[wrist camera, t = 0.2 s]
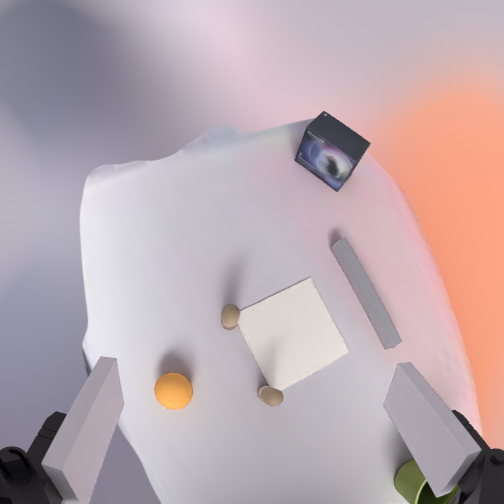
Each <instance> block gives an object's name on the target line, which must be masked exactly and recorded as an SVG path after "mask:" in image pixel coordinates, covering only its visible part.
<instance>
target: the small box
mask: <svg viewBox="0 0 504 504" xmlns="http://www.w3.org/2000/svg"><path fill="white" fill-rule="evenodd" d="M370 144H371V143H370V142H368V141H367V140H365V139H364V138H362V137H361V136H360V135H358V134H357V133H356V132H354V131H353V130H351V129H350V128H349V127H347V126H346V125H344V124H343V123H341V122H340V121H339V120H337V119H336V118H334V117H332V116H331V115H330V114H328V113H327V112H325V111H323V112H322V113H321V114H320V115H319V116H318V117H317V118H315V119H314V120H313V121H312V122H311V123H310V124H309V125H308V126H307V127H306V130H305V133H304V136H303V139H302V142H301V144H300V147H299V150H298V153H297V155H296V158H295V161H296V162H298V163H299V164H300V165H302V166H303V167H305V168H306V169H307V170H309V171H310V172H311V173H313V174H314V175H315V176H317V177H318V178H319V179H321V180H322V181H323V182H325V183H326V184H327V185H329V186H330V187H331V188H333V189H334V190H335V191H336V192H338V190H339V189H340V188H341V187H342V186H343V184H344V183H345V182H346V181H347V179H348V178H349V177H350V176H351V174H352V172H353V170H354V169H355V167H356V166H357V164H358V162H359V161H360V159H361V158H362V156H363V155H364V153H365V151H366V150H367V148H368V147H369V146H370Z"/></svg>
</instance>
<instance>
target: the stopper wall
mask: <svg viewBox="0 0 504 504" xmlns="http://www.w3.org/2000/svg"><path fill="white" fill-rule="evenodd" d="M330 249H331V251H332V252H333V254H334V256H335V257H336V259H337V261H338V263H339V265H340V266H341V268H342V270H343V272H344V273H345V275H346V277H347V279H348V281H349V282H350V284H351V286H352V288H353V290H354V291H355V293H356V295H357V297H358V299H359V301H360V303H361V304H362V306H363V308H364V310H365V312H366V314H367V316H368V318H369V319H370V321H371V323H372V325H373V327H374V329H375V331H376V333H377V335H378V337H379V339H380V341H381V343H382V345H383V347H384V349H388V348H393V347H395V346H396V345H398V344H399V343H400V342H402V340H401V338H400V336H399V334H398V332H397V330H396V328H395V326H394V325H393V323H392V321H391V319H390V317H389V315H388V313H387V311H386V309H385V307H384V305H383V303H382V302H381V300H380V298H379V296H378V294H377V292H376V290H375V289H374V287H373V285H372V283H371V281H370V280H369V278H368V276H367V274H366V272H365V271H364V269H363V267H362V265H361V264H360V262H359V260H358V258H357V257H356V255H355V253H354V251H353V250H352V248H351V246H350V245H349V243H348V241H347V239H346V238H345V237H344V238H342V239H340V240H338V241H336V242H335V243H334V244H333V245H332V247H331V248H330Z"/></svg>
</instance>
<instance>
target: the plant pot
mask: <svg viewBox="0 0 504 504" xmlns="http://www.w3.org/2000/svg"><path fill="white" fill-rule="evenodd" d="M394 485H395V488H396V490H397V491H398V492H399V493H400V494H401V495H402V496H403V497H404V498H405V499H406V500H407V501H408V502H409V503H410V504H449V502H450V500H451V499H452V498H453V497H454V495H455V494H456V493H457V492H458V490H459V489H460V487H459V486H458V484H457V485H456V486H455V487H454V489H453V490H452V491H451V492H450V493H448V494H445V495H443V496H440V497H437V498H436V496H435V494H434V492H433V491H432V489H431V487H430V485H429V484H428V482H427V480H426V478H425V476H424V475H423V473H422V471H421V469H420V468H419V466H418V464H417V463H416V461H415V459H412V460H410V461H408V462H406V463H405V464H404V465H403V466H401V468H400V469H399V471H398V473H397V475H396V477H395V480H394ZM454 503H455V500H454V501H453V502H452V503H451V504H454Z"/></svg>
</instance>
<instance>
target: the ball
mask: <svg viewBox="0 0 504 504" xmlns="http://www.w3.org/2000/svg"><path fill="white" fill-rule="evenodd" d="M192 394H193V390H192V386H191V383H190V382H189V380H188V379H187V378H186V377H185V376H183V375H181V374H178V373H167V374H164V375H163V376H161V377H160V378H159V379H158V380H157V382H156V384H155V396H156V398H157V400H158V402H159V403H160V404H161V405H162V406H164V407H166V408H168V409H173V410H176V409H181V408H183V407H185V406H186V405H187V404H188V403H189V402H190V400H191V398H192Z"/></svg>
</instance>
